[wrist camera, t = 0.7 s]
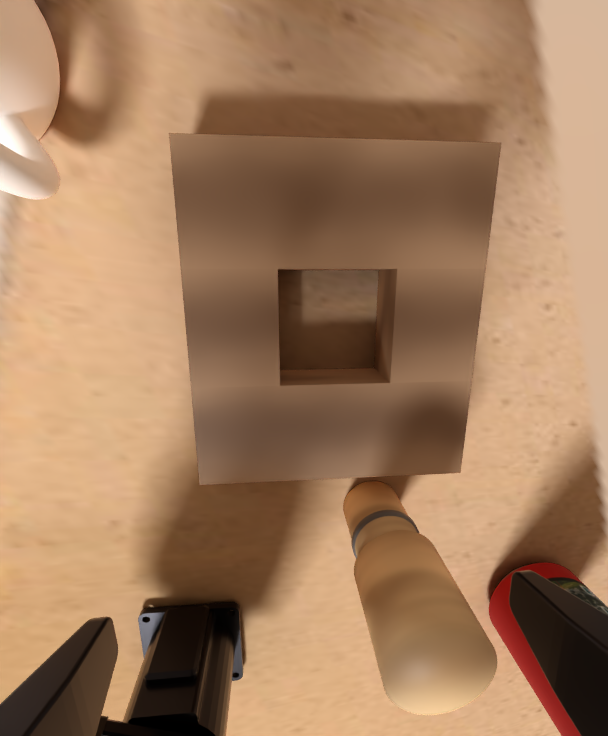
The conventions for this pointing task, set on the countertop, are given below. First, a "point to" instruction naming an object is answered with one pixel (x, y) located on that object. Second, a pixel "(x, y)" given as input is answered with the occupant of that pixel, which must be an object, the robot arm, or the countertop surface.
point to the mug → (26, 100)
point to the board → (331, 252)
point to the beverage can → (518, 643)
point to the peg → (414, 609)
